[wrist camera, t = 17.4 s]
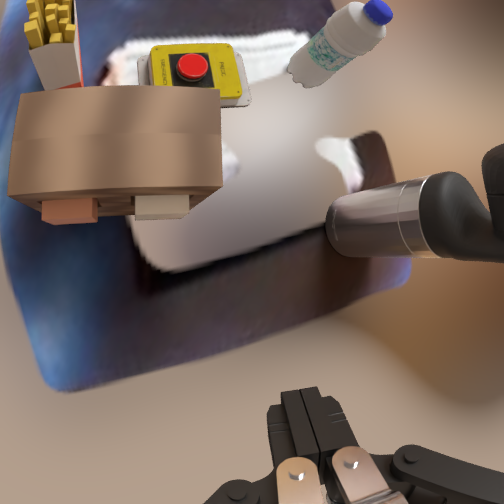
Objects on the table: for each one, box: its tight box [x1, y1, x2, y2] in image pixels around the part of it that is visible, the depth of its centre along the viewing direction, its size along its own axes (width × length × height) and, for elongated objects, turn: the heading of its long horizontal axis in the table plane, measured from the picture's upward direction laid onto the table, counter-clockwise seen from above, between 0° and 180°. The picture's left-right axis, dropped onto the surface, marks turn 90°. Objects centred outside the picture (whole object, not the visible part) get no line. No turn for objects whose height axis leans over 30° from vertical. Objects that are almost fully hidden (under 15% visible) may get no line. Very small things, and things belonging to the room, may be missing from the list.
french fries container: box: [25, 0, 84, 91], centre depth 23 cm, size 5×11×18 cm, turn 17°
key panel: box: [7, 85, 223, 217], centre depth 27 cm, size 16×8×16 cm, turn 93°
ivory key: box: [135, 195, 189, 220], centre depth 27 cm, size 4×4×4 cm
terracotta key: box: [42, 198, 98, 225], centre depth 24 cm, size 4×4×4 cm
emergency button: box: [138, 43, 252, 108], centre depth 37 cm, size 9×4×15 cm
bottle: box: [288, 0, 393, 88], centre depth 35 cm, size 7×7×20 cm
